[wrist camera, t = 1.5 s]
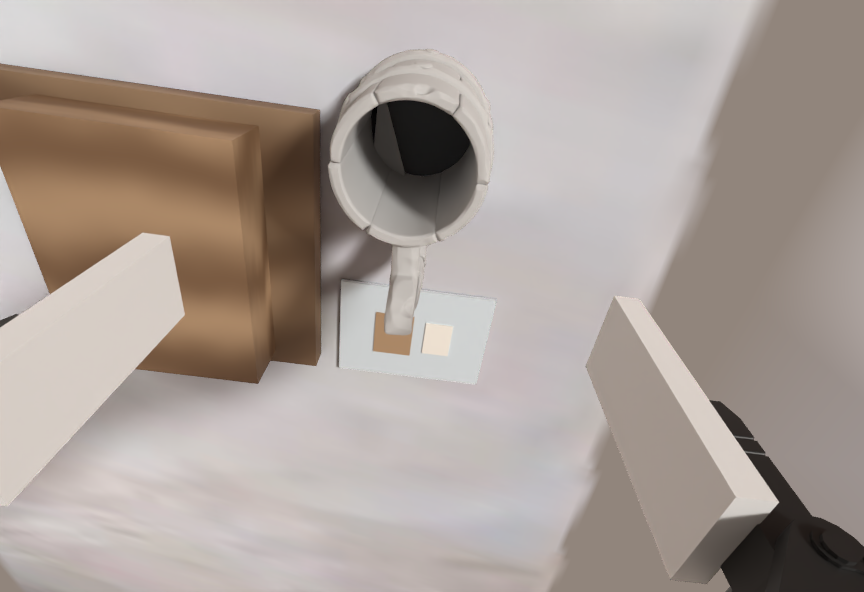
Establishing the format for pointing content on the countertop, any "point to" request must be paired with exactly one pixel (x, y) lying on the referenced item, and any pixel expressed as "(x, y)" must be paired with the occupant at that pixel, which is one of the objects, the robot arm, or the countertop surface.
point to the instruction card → (414, 334)
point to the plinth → (176, 207)
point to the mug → (401, 192)
